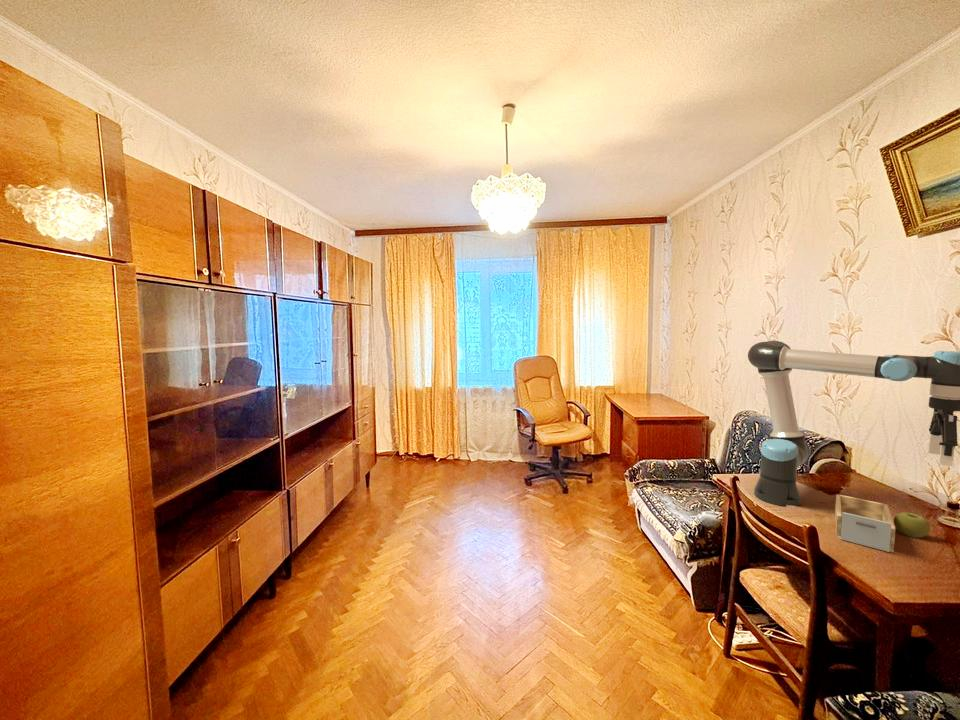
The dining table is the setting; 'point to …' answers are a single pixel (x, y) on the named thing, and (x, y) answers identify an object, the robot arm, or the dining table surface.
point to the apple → (911, 525)
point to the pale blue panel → (866, 531)
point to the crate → (862, 513)
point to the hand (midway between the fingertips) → (939, 459)
